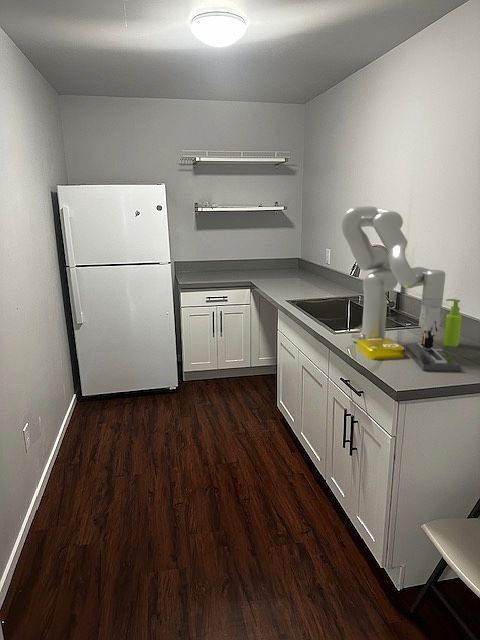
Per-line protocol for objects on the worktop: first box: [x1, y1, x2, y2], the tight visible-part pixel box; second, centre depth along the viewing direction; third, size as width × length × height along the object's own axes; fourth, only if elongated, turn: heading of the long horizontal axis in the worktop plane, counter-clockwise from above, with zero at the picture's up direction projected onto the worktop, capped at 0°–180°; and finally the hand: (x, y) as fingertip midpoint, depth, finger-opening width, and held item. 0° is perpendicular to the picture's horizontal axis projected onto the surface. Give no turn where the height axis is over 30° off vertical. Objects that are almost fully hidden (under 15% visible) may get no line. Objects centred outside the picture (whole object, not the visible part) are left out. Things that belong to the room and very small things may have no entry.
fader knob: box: [423, 333, 431, 351], centre depth 181 cm, size 3×4×6 cm
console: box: [404, 342, 461, 373], centre depth 177 cm, size 13×24×4 cm, turn 176°
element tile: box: [356, 337, 405, 361], centre depth 186 cm, size 15×15×5 cm
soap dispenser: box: [443, 298, 463, 348], centre depth 194 cm, size 6×7×20 cm
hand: (427, 346), depth 182 cm, fingers closed on fader knob, 2 cm apart
